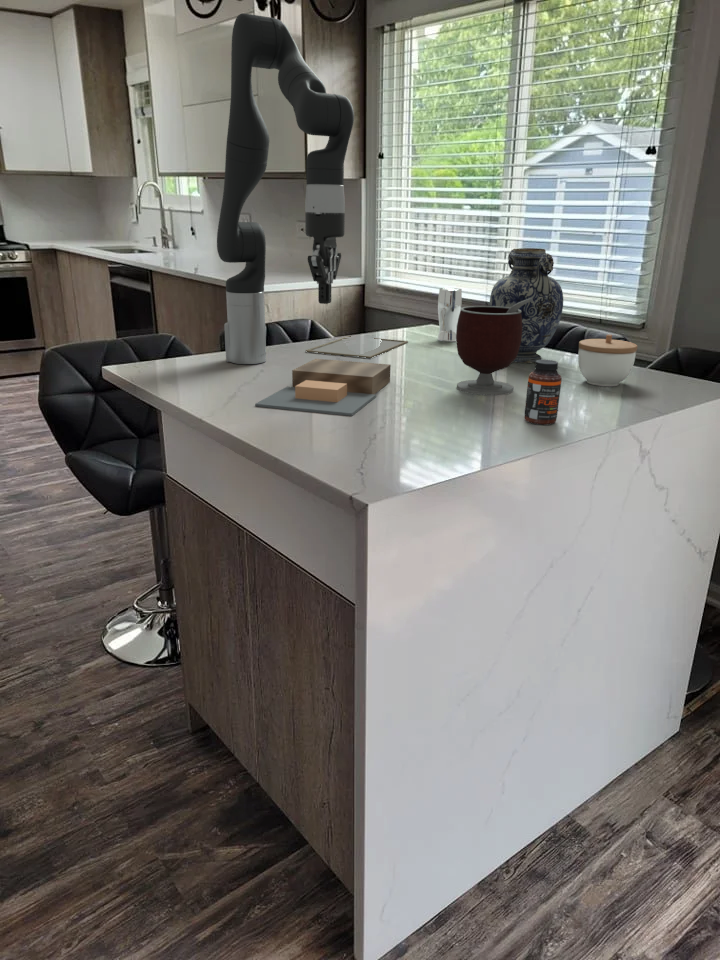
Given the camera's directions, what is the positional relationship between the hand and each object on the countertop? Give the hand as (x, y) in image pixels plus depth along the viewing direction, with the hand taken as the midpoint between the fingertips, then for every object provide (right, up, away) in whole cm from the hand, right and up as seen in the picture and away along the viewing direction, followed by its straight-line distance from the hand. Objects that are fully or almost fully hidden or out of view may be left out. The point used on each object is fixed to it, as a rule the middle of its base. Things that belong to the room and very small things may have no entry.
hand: (324, 303), depth 145 cm
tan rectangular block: (-1, -17, +3) cm, 17 cm away
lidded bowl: (+63, -13, +23) cm, 68 cm away
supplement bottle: (+41, -24, -9) cm, 48 cm away
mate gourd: (+35, -15, +15) cm, 41 cm away
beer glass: (+33, +7, +75) cm, 82 cm away
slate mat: (-2, -19, +2) cm, 20 cm away
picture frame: (+7, +2, +61) cm, 61 cm away
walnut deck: (+3, -14, +16) cm, 22 cm away
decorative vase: (+50, -3, +48) cm, 69 cm away
